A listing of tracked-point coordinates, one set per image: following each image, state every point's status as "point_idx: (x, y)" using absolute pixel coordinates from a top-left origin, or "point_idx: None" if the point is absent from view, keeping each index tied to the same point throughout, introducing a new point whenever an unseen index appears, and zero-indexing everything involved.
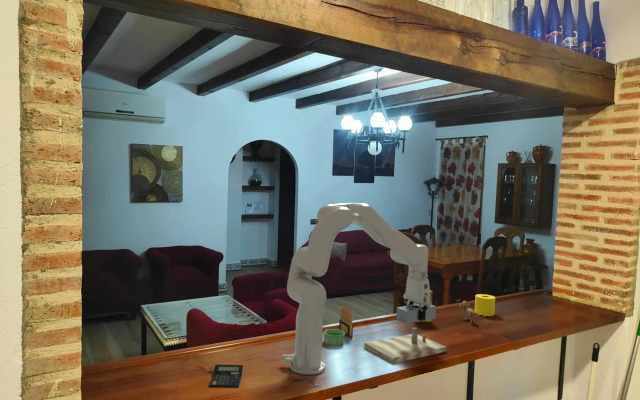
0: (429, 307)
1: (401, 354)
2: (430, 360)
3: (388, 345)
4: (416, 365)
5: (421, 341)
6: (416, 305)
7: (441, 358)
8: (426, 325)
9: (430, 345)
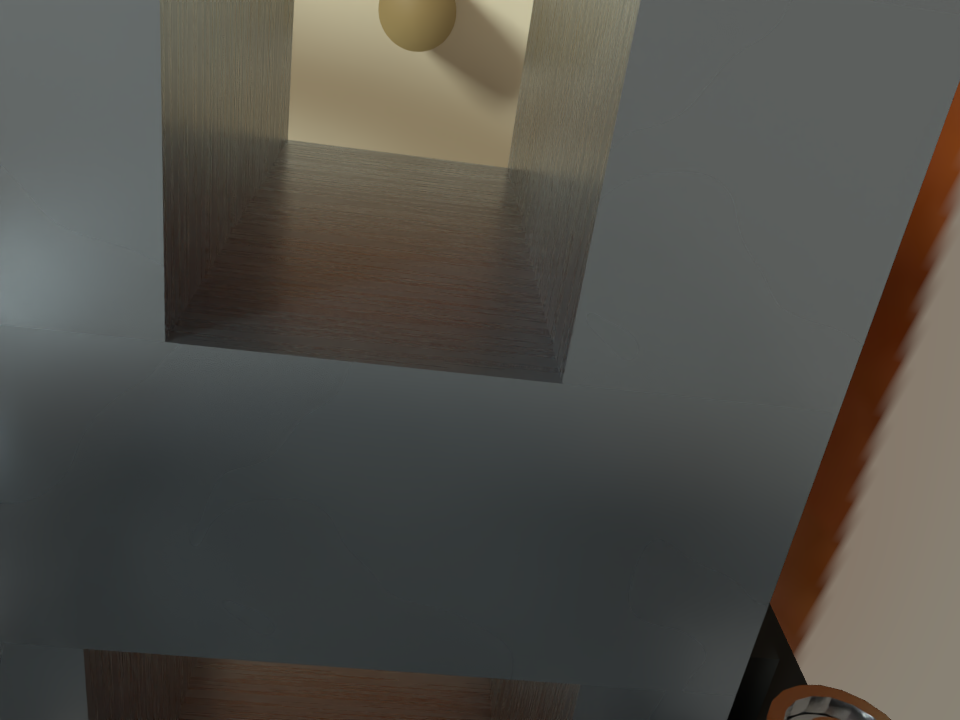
0: (833, 408)
1: None
2: (844, 405)
3: None
4: (800, 637)
5: (410, 70)
6: (88, 657)
7: (926, 220)
8: None
9: None
